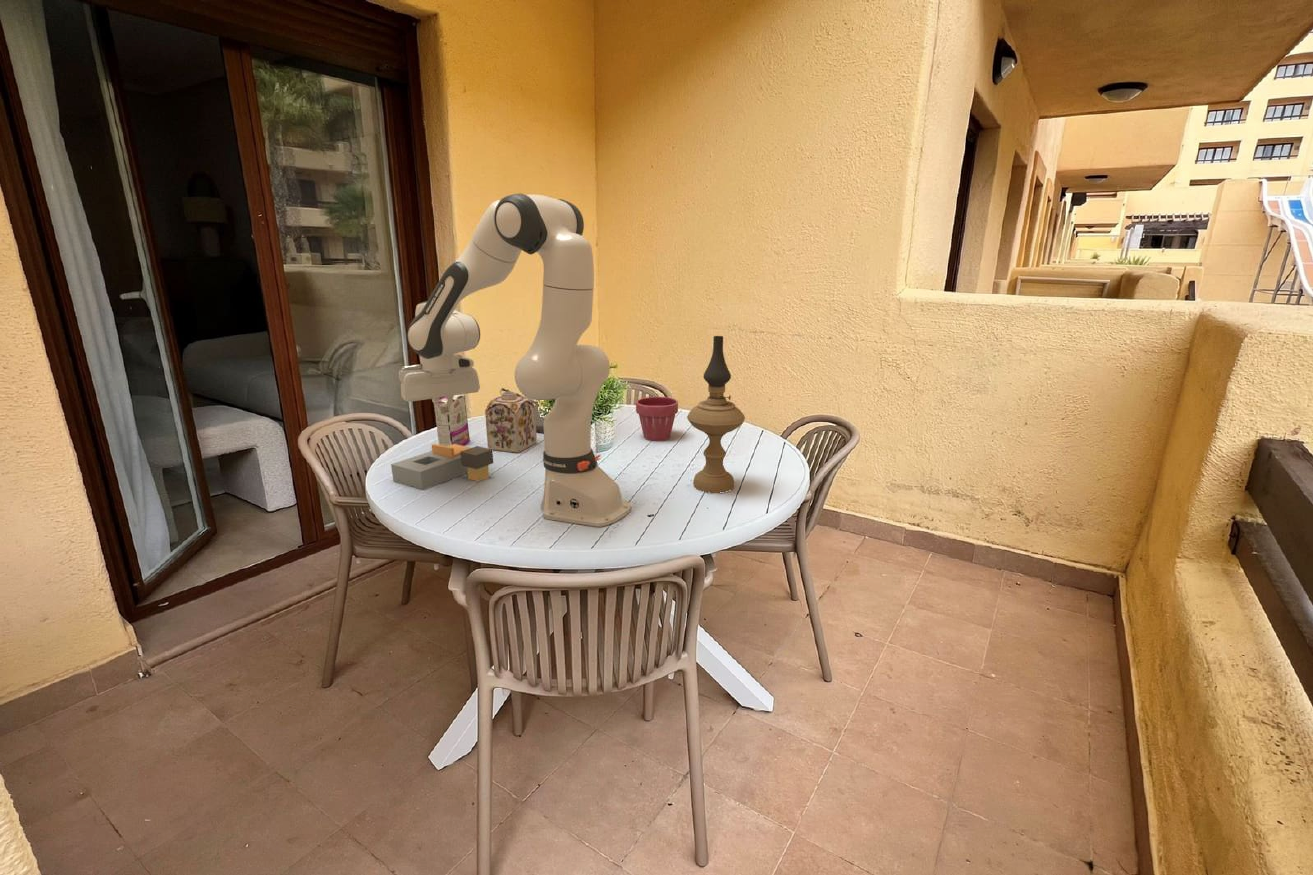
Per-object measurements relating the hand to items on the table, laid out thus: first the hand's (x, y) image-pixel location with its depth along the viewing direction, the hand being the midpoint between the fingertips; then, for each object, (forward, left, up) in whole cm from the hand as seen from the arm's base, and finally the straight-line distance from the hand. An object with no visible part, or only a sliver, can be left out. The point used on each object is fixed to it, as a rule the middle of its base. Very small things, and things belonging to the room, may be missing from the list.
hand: (444, 412), depth 159 cm
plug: (-8, -3, -18) cm, 20 cm away
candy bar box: (+20, -19, -18) cm, 33 cm away
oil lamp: (-67, -31, -18) cm, 76 cm away
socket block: (+4, +1, -18) cm, 18 cm away
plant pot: (-31, -62, -18) cm, 71 cm away
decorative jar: (+4, -29, -18) cm, 34 cm away
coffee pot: (+12, -47, -18) cm, 52 cm away
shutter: (+4, -4, -13) cm, 14 cm away
